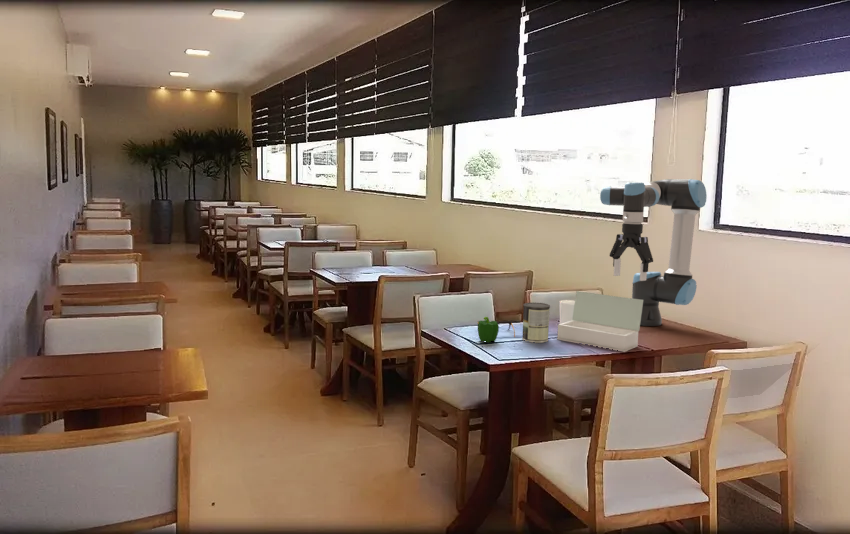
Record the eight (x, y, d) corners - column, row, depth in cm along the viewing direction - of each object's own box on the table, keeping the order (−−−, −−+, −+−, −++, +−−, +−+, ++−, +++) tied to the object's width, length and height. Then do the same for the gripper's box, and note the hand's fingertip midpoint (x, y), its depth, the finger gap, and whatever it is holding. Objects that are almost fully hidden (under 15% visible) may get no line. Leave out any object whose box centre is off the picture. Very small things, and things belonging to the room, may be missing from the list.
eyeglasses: (511, 330, 288) (511, 321, 287) (515, 338, 274) (515, 328, 273) (477, 329, 288) (477, 320, 288) (479, 337, 274) (479, 327, 273)
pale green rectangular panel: (572, 320, 280) (573, 320, 281) (638, 330, 263) (639, 330, 264) (576, 291, 280) (577, 291, 281) (642, 299, 263) (643, 300, 264)
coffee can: (516, 339, 270) (518, 304, 268) (532, 335, 277) (533, 301, 276) (537, 344, 263) (539, 308, 261) (553, 340, 270) (555, 305, 268)
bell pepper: (488, 338, 271) (489, 313, 270) (502, 342, 264) (503, 317, 263) (471, 340, 267) (472, 315, 265) (485, 344, 260) (486, 319, 259)
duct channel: (571, 334, 281) (572, 320, 280) (637, 346, 263) (638, 331, 263) (557, 339, 272) (558, 324, 271) (624, 351, 254) (625, 336, 253)
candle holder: (574, 326, 296) (575, 299, 295) (586, 331, 287) (587, 303, 286) (553, 327, 293) (555, 300, 292) (565, 332, 284) (566, 304, 283)
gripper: (602, 221, 270) (599, 274, 273) (650, 225, 249) (647, 283, 251) (616, 220, 274) (613, 273, 277) (665, 225, 252) (661, 282, 255)
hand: (629, 278), depth 264 cm, fingers open, 13 cm apart
